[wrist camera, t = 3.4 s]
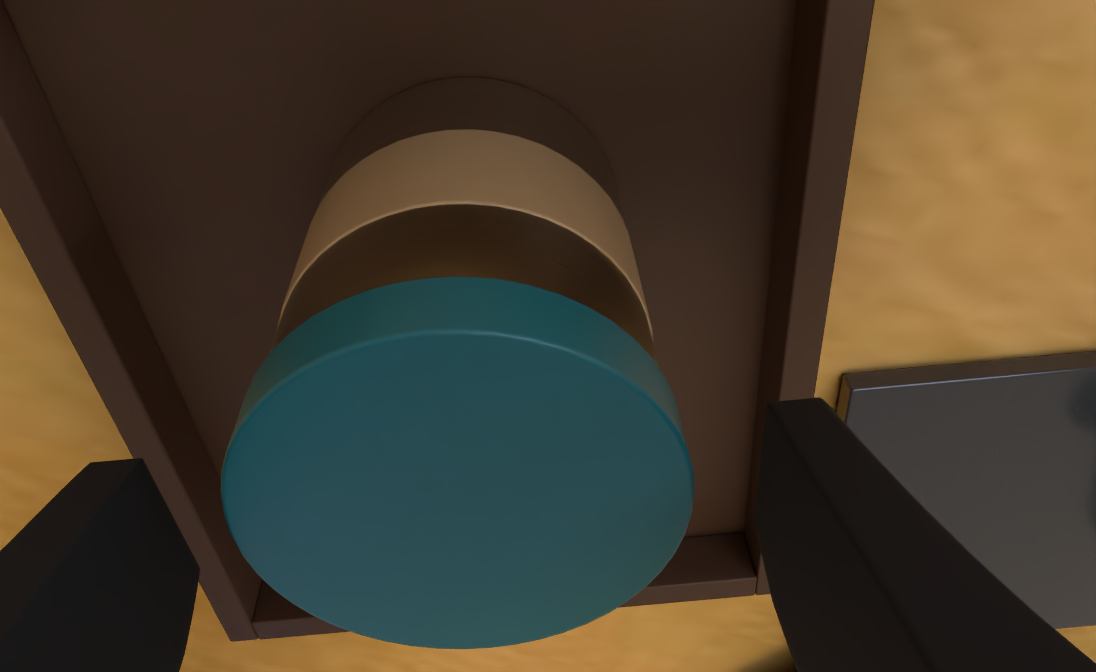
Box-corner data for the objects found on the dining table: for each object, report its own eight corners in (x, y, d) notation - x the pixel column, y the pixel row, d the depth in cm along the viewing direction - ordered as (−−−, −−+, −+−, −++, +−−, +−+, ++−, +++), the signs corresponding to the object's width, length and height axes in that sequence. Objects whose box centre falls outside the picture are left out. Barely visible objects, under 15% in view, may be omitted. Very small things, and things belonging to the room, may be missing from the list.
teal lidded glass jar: (357, 346, 17) (290, 667, 11) (285, 85, 14) (144, 357, 8) (626, 322, 17) (689, 631, 11) (618, 54, 14) (704, 306, 8)
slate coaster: (796, 634, 25) (801, 652, 24) (842, 372, 19) (850, 390, 18) (1138, 603, 25) (1151, 621, 24) (1295, 331, 19) (1317, 348, 18)
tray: (248, 577, 22) (229, 643, 21) (-90, -138, 12) (-173, -113, 11) (764, 531, 22) (784, 593, 20) (856, -228, 12) (909, -216, 10)
